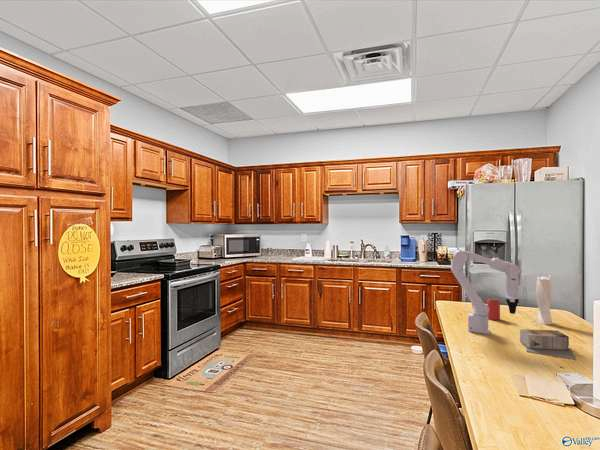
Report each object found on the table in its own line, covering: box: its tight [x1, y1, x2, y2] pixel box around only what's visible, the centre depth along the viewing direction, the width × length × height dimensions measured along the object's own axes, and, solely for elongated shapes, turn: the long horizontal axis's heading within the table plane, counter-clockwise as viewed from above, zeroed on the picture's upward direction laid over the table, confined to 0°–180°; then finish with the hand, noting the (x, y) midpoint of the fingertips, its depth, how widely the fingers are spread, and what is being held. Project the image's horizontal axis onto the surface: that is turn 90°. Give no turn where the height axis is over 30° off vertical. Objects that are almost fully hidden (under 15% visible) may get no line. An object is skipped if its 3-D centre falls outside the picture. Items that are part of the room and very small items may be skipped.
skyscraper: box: [533, 274, 555, 326], centre depth 194 cm, size 8×8×28 cm
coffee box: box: [519, 328, 570, 350], centre depth 157 cm, size 9×6×16 cm
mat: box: [525, 346, 577, 361], centre depth 152 cm, size 17×14×1 cm
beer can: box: [486, 297, 501, 321], centre depth 203 cm, size 7×7×12 cm
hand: (512, 313), depth 176 cm, fingers closed
